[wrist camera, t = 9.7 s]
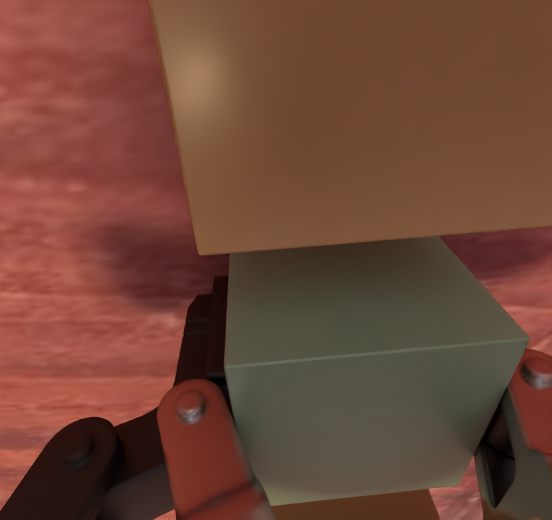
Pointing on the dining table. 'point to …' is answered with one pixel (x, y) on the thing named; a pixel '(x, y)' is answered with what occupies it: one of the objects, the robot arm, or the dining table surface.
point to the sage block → (363, 366)
